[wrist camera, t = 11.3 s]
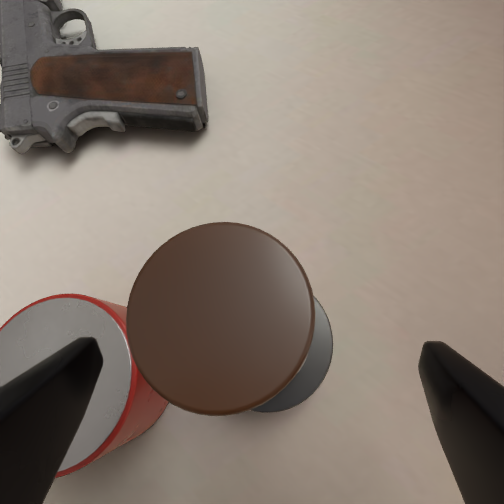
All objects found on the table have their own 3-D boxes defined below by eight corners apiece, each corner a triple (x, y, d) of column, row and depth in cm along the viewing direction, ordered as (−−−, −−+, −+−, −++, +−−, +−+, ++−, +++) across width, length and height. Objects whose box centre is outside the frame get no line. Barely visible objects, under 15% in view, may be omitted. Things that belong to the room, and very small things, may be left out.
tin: (185, 428, 17) (145, 459, 12) (54, 457, 17) (-37, 499, 12) (167, 295, 19) (127, 276, 14) (51, 322, 19) (-28, 312, 14)
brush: (339, 388, 17) (549, 531, 3) (224, 413, 17) (-2, 641, 4) (308, 276, 19) (368, 82, 5) (205, 299, 19) (8, 170, 5)
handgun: (150, -109, 26) (-19, -60, 26) (216, 102, 19) (-16, 170, 19) (162, -67, 29) (8, -23, 29) (223, 133, 22) (19, 193, 22)
